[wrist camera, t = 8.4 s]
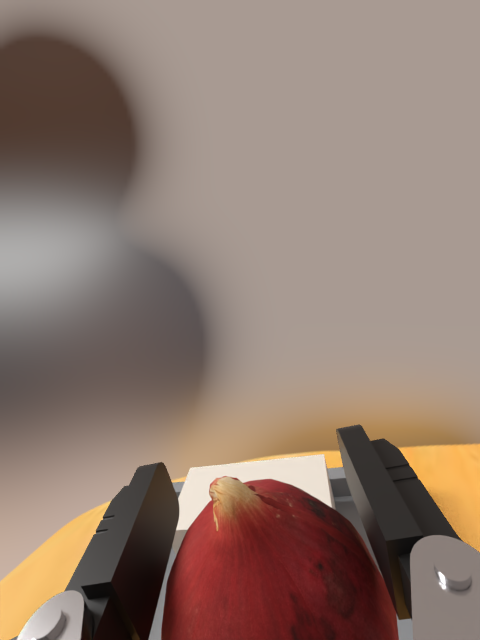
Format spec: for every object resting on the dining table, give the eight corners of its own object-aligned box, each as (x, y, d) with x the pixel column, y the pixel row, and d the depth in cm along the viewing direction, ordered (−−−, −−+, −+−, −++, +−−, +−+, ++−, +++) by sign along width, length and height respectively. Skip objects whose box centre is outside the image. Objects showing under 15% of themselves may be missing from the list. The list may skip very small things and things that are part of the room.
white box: (186, 579, 24) (165, 530, 22) (206, 509, 29) (190, 467, 28) (346, 576, 21) (333, 521, 20) (334, 501, 27) (323, 454, 25)
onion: (351, 568, 12) (313, 387, 10) (481, 852, 6) (457, 574, 4) (206, 614, 12) (136, 439, 10) (208, 955, 6) (41, 710, 4)
